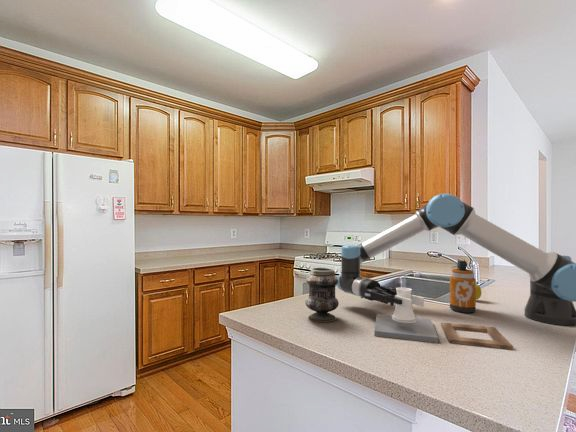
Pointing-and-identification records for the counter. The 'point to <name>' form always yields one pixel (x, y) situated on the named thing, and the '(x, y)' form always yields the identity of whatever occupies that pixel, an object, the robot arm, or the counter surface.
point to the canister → (462, 289)
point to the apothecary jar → (322, 294)
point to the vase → (402, 312)
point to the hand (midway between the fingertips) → (417, 303)
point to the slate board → (405, 329)
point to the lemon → (478, 292)
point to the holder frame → (452, 337)
